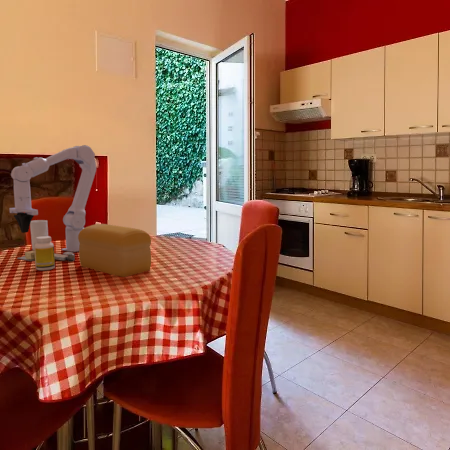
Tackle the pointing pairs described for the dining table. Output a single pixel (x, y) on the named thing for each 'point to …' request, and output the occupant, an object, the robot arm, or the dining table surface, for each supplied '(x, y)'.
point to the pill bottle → (44, 253)
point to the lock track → (26, 259)
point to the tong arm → (62, 256)
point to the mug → (38, 230)
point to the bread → (115, 249)
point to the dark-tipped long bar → (68, 257)
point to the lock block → (30, 255)
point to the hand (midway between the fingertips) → (24, 232)
